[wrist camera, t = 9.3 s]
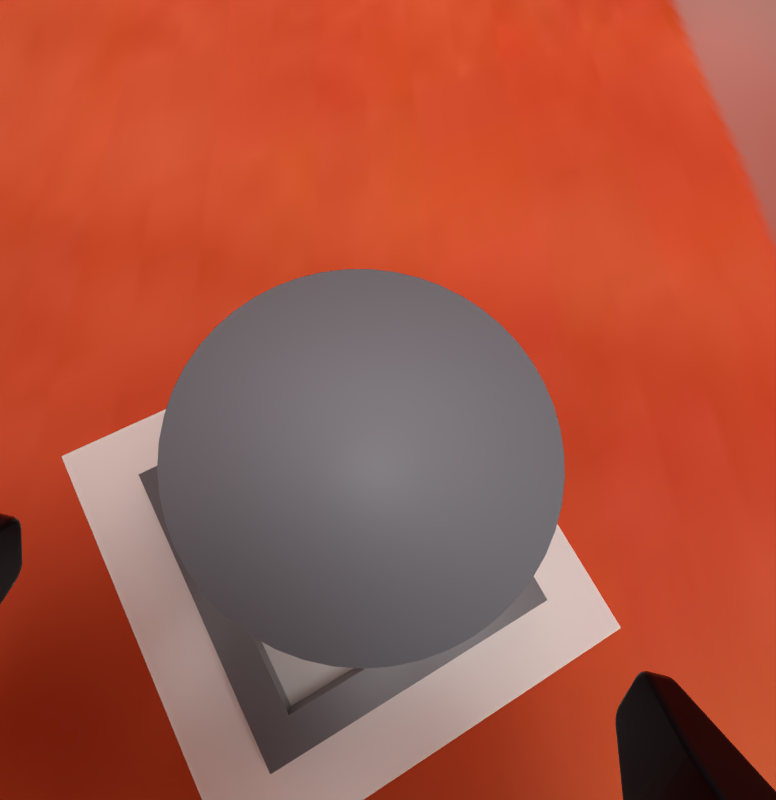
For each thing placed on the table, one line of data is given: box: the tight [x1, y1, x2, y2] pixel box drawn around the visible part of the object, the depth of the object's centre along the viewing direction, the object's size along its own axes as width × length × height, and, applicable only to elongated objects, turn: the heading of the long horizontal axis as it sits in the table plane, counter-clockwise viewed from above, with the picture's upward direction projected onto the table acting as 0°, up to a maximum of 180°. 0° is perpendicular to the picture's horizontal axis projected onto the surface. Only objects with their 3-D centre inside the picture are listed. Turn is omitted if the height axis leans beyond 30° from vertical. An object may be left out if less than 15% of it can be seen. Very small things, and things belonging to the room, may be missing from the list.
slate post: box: [157, 269, 565, 669], centre depth 13 cm, size 5×5×12 cm
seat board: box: [61, 409, 621, 800], centre depth 19 cm, size 13×13×2 cm
